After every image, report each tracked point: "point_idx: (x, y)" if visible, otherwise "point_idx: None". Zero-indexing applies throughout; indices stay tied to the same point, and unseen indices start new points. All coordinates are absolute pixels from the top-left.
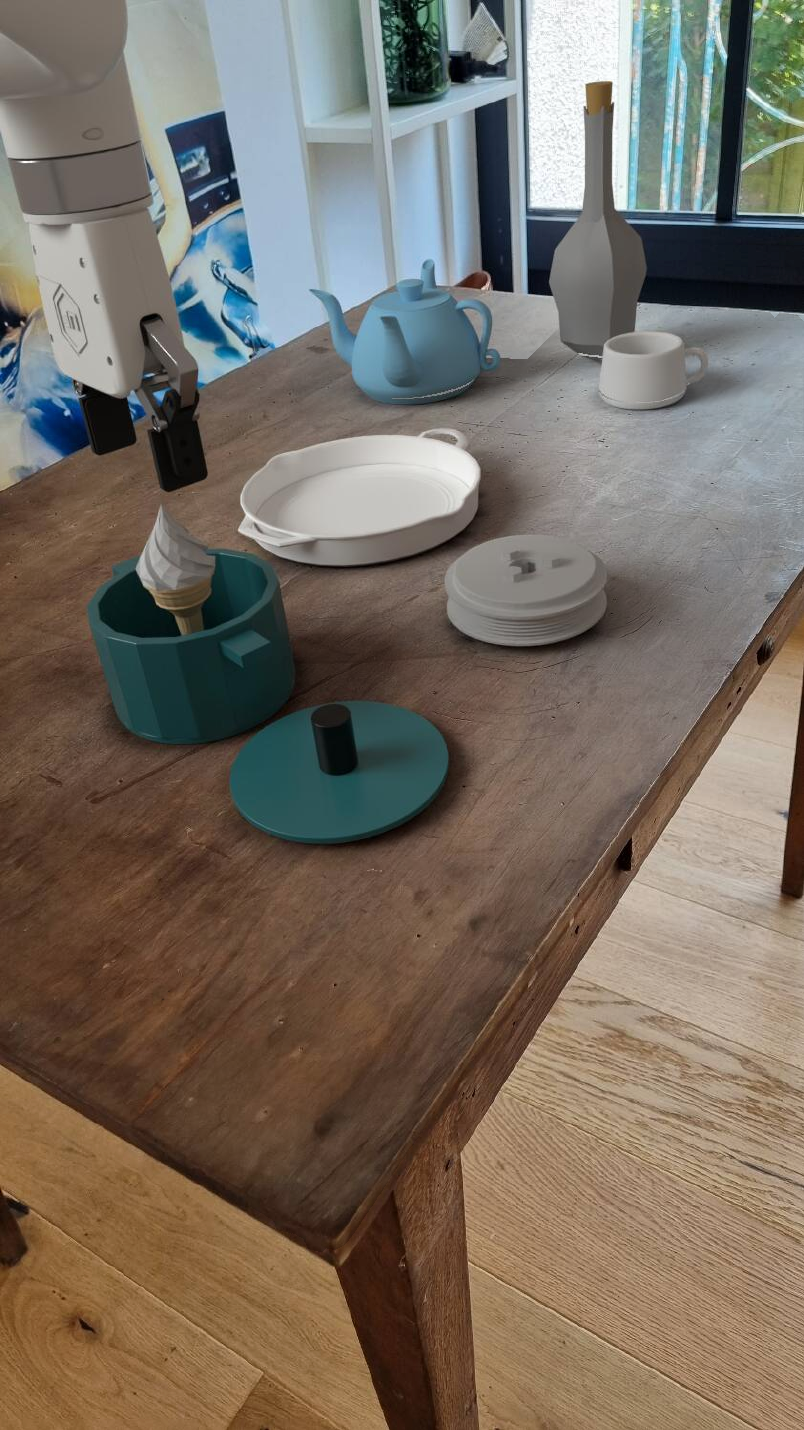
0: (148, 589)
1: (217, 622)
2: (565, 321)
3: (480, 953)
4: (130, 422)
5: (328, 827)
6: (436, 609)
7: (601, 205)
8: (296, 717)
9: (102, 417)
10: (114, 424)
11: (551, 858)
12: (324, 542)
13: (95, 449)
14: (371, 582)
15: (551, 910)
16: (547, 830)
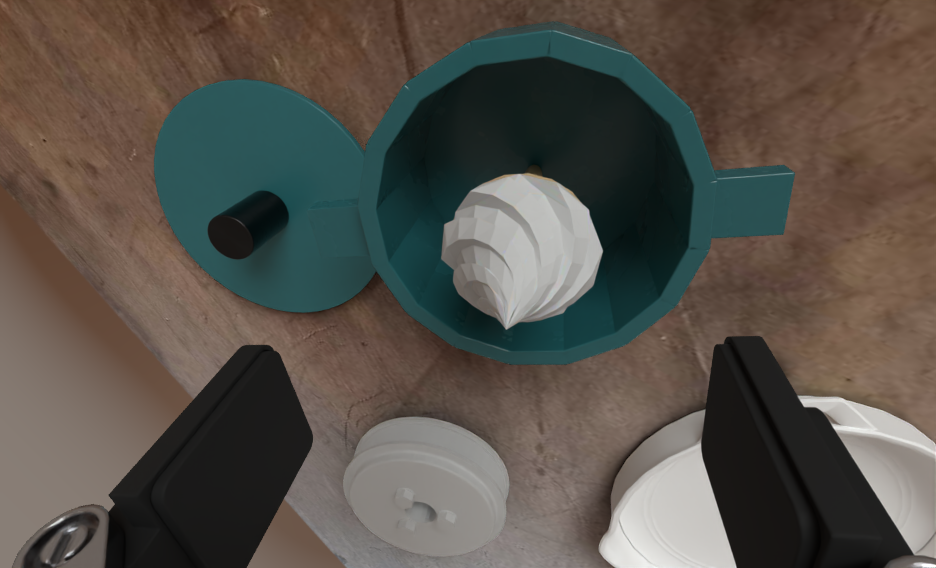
0: (503, 175)
1: (623, 250)
2: None
3: (17, 169)
4: (721, 509)
5: (171, 147)
6: (502, 428)
7: None
8: None
9: (753, 484)
10: (731, 477)
11: (108, 274)
12: (687, 443)
13: (735, 349)
14: (610, 423)
15: (53, 239)
16: (140, 292)
